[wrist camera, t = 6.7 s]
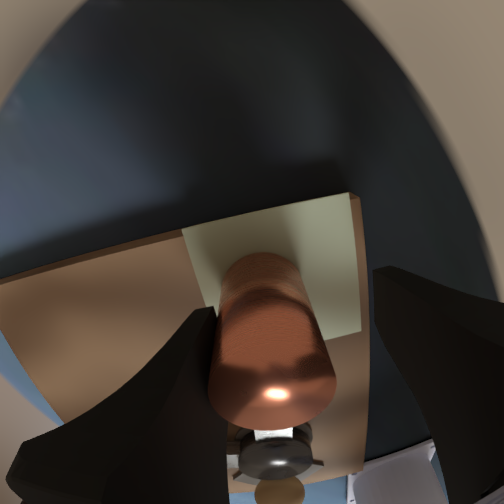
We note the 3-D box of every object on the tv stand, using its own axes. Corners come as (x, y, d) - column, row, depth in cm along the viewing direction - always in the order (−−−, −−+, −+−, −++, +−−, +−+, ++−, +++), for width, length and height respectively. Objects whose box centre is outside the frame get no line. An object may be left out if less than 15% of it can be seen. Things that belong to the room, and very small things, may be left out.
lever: (307, 455, 16) (319, 526, 11) (194, 461, 16) (186, 531, 11) (315, 247, 11) (364, 333, 6) (125, 263, 11) (59, 348, 6)
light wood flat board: (359, 458, 19) (373, 507, 14) (133, 480, 20) (123, 522, 16) (348, 184, 12) (403, 214, 7) (-9, 276, 13) (-60, 317, 8)
